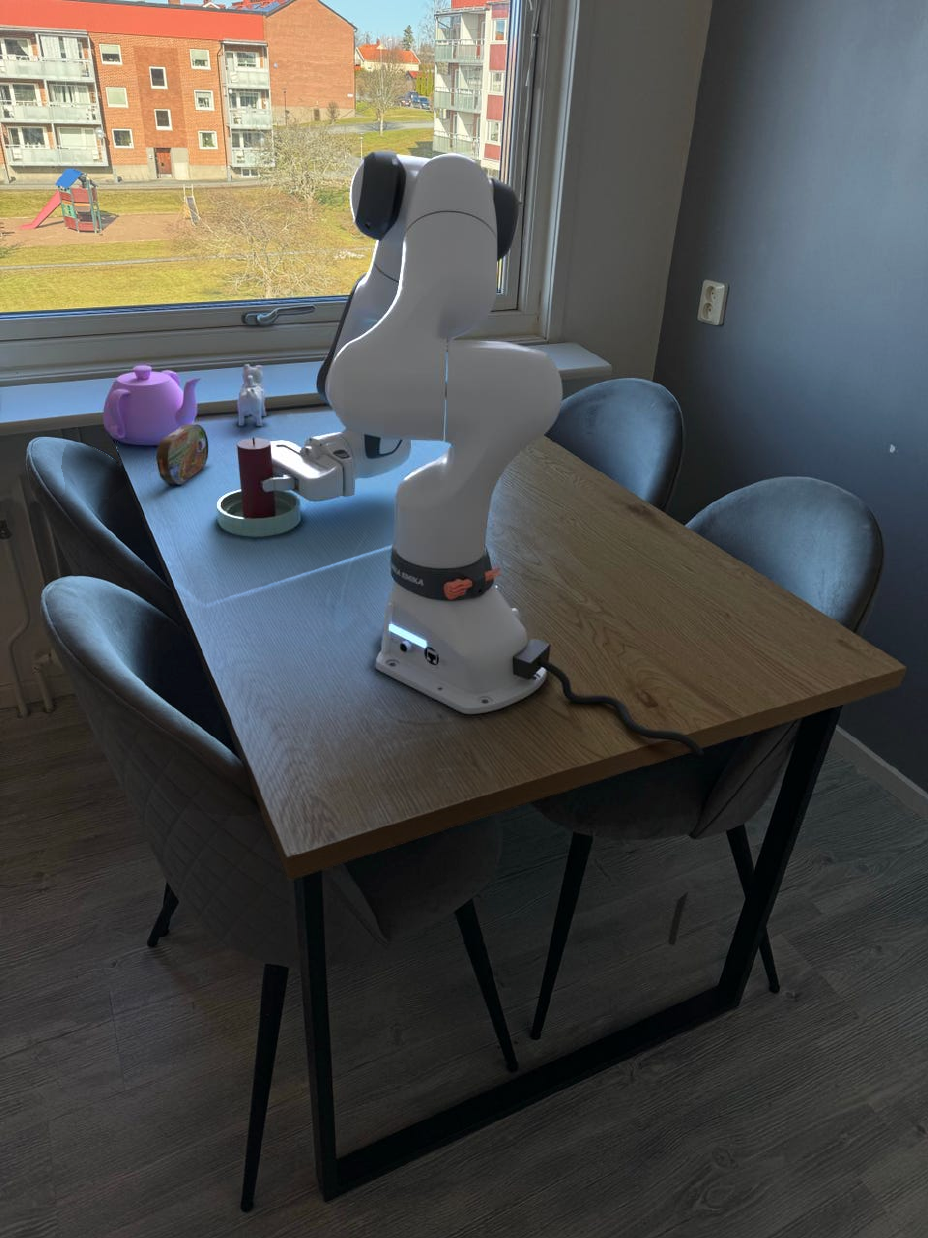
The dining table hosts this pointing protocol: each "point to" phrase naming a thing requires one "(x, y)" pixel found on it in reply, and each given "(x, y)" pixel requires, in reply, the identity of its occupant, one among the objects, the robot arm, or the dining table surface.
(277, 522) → the bowl
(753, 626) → the dining table surface
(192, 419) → the teapot
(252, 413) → the dog figurine
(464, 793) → the dining table surface
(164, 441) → the tin
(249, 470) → the candle
